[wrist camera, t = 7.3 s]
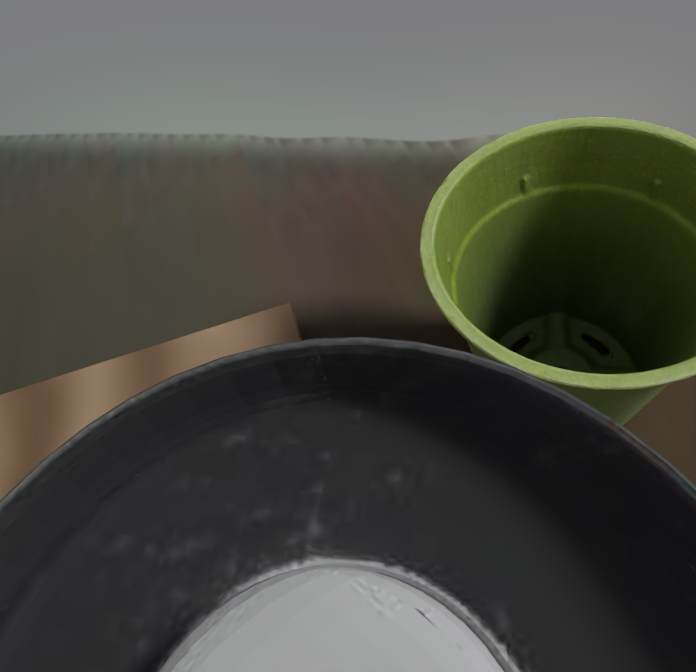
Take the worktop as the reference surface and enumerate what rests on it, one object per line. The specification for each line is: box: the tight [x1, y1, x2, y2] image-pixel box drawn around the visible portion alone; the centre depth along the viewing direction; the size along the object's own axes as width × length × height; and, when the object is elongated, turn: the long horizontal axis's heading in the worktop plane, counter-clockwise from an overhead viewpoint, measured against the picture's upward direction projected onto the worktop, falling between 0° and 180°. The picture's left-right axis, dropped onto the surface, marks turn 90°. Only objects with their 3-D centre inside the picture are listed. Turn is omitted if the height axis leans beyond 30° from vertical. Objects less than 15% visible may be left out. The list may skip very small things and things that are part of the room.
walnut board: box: [0, 303, 302, 500], centre depth 32 cm, size 18×10×2 cm, turn 105°
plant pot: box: [420, 117, 696, 425], centre depth 26 cm, size 12×12×11 cm
